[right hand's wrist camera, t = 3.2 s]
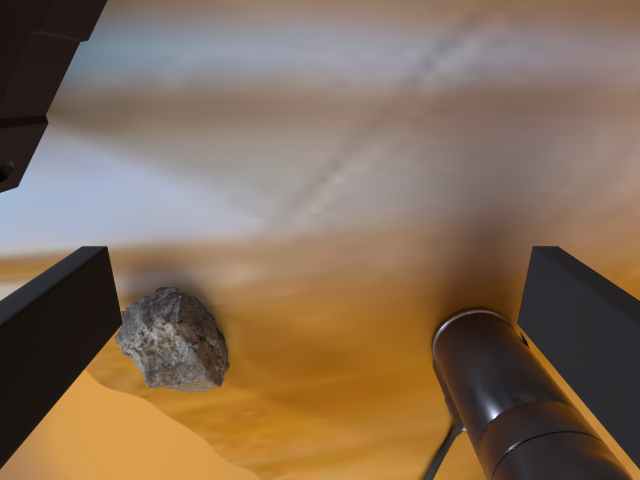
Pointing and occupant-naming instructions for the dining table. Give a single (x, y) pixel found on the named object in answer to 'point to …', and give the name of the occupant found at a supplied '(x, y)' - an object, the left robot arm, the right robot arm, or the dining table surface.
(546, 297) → the right robot arm
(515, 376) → the left robot arm
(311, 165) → the dining table surface
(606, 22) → the dining table surface
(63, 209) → the dining table surface
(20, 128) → the mechanical component
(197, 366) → the rock
